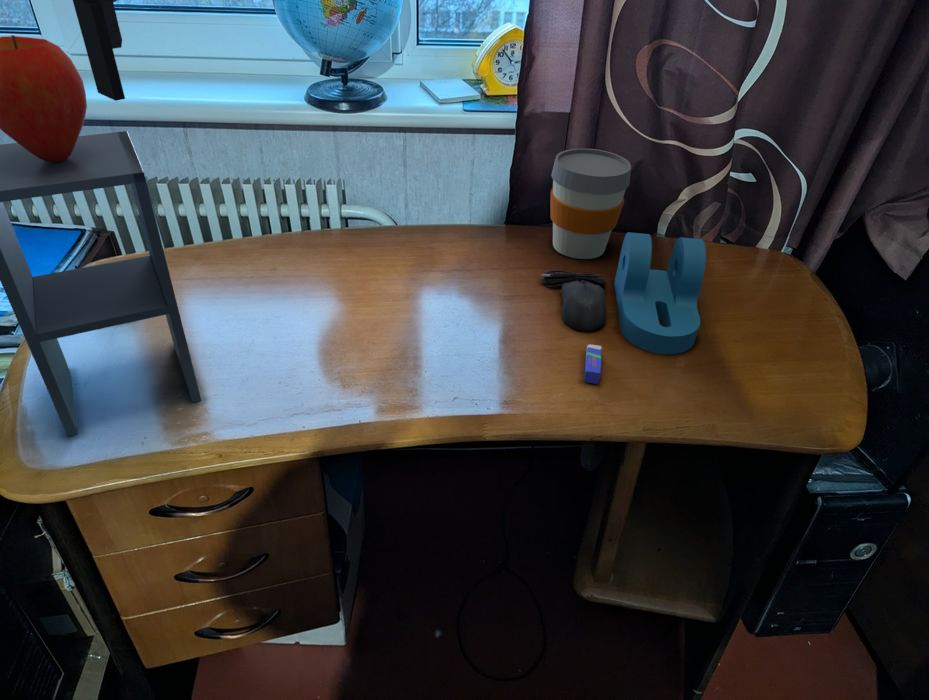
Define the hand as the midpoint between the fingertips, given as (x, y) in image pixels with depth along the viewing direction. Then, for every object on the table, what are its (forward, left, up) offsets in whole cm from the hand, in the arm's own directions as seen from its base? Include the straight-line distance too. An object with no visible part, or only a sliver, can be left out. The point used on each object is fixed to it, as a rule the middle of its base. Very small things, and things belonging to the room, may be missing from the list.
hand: (16, 114), depth 46 cm
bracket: (+65, -25, -37) cm, 79 cm away
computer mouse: (+60, -15, -37) cm, 72 cm away
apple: (+6, +14, -9) cm, 18 cm away
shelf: (+6, +14, -37) cm, 40 cm away
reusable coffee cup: (+76, -5, -37) cm, 85 cm away
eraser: (+48, -25, -37) cm, 65 cm away
